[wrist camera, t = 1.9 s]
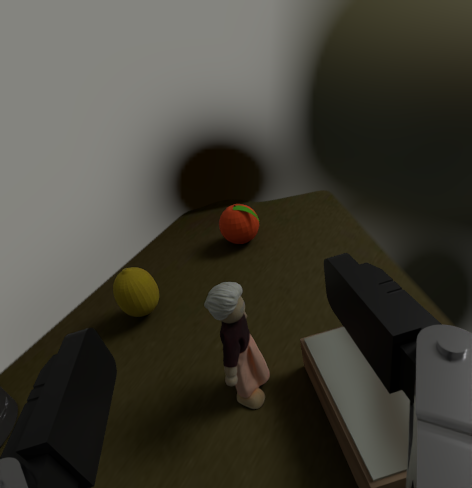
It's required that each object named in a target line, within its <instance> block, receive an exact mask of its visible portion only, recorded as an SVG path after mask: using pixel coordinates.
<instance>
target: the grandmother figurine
mask: <svg viewBox="0 0 472 488" xmlns="http://www.w3.org/2000/svg"><path fill="white" fill-rule="evenodd" d="M241 294H242V288H241V286H240V285H239V284H237V283H235V282H225V283H221V284H219V285H217V286H215V287H213V289H212V290H211V291H210V292H209V294H208V296H207V299H206V301H205V304H204V305H205V308H207V309H208V310H209V312H210V313H211V314H212V316H213V317H214V318H215V319H218V320H220V321H222V326H221V331H220V337H221V341H222V343H223V354H224V359H223V361H224V367H225V374H226V377H225V382H226V384H227V385H228V386H231V387H232V386H236V389H237V392H238V393H237V401H238V402H239V403H240V404H242V405H244V406H247V407H249V408H251V409H258V408H260V407H261V406H262V405H263V403H264V400H265V395H264V392H263V391H262V390H261V389H259V386H260V385H263V384H264V383H266V382H267V381H268V379H269V376H270V373H269V369H268V367H267V364H266V362H265V360H264V358H263V356H262V354H261V352H260V351H259V349H258V347H257V345H256V343H255V341H254V340H253V338H252V336H251V335H250V332H249V329H248V326H247V321H246V317H247V315H246V313H245V312H244V311H245V304H244V301H243V299H242V297H241Z"/></svg>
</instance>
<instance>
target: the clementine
mask: <svg viewBox="0 0 472 488" xmlns="http://www.w3.org/2000/svg"><path fill="white" fill-rule="evenodd" d="M259 222H260V221H259V219H258V217H257V214H256V213H255V212H254V210H253V209H251V208H250V207H249V206H246V205H243V204H235V205H232V206H230V207H228V208H227V209H226V210H225V211H224V212H223V213H222V215H221V217H220V222H219V226H220V231H221V233H222V235H223V236H224V238H225V239H226V240H228V241H230V242H231V243H234V244H244V243H247V242H249V241H250V240H252V239H253V238H254V237H255V235H256V234H257V232H258V228H259Z"/></svg>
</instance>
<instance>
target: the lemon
mask: <svg viewBox="0 0 472 488" xmlns="http://www.w3.org/2000/svg"><path fill="white" fill-rule="evenodd" d="M113 292H114V297H115V300H116V302H117V304H118V305H119V307H120V308H121V309H122V311H124V312H125V313H126V314H128V315H130V316H134V317H141V316H145V315H148V314H149V313H150V312H152V311H153V310H154V309H155V307H156V305H157V303H158V300H159V290H158V287H157V284H156V282H155V281H154V279H153V278H152V276H151V275H150V274H149V273H148V272H146V271H145V270H143V269H140V268H125V269H123V271H122V272H120V273H119V274H118V276H117V277H116V279H115V281H114V284H113Z"/></svg>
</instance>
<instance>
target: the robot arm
mask: <svg viewBox="0 0 472 488" xmlns="http://www.w3.org/2000/svg"><path fill="white" fill-rule="evenodd" d="M324 272H325V282H326V293H327V298H328V301H329V304H330V306H331V308H332V310H333V312H334V313H335V315H336V316H337V317H338V319H339V320H340V322H341V323H342V325H343V326H344V328H345V329H346V331H347V332H348V334H349V335H350V337H351V338H352V340H353V341H354V342H355V344H356V345H357V347H358V348H359V350H360V351H361V353H362V354H363V356H364V357H365V359H366V360H367V362H368V363H369V364H370V366H371V367H372V369H373V370H374V372H375V373H376V375H377V376H378V378H379V379H380V381H381V382H382V384H383V385H384V387H385V388H386V389H387V391H388V392H389V394H391V393H394V392H398V391H401V390H403V392H404V393H405V395H406V396H407V397H408V399H409V418H408V447H407V474H406V488H472V333H470V332H468V331H466V330H464V329H461V328H458V327H455V326H450V325H442V324H441V323H439V322H438V321H437V320H436V319H435V318H434V317H433V316H432V315H431V314H430V313H429V312H427V311H426V310H425V309H424V308H423V307H422V306H421V305H420V304H419V303H418V302H417V301H416V300H414V299H413V298H412V297H411V296H410V295H409V294H408V293H407V292H406V291H405V290H402V288H401V287H400V286H399V285H398V284H397V283H396V282H395V281H394V282H393V279H392V278H391V277H389V276H388V275H387V274H386V273H385V272H384V271H383V270H382V269H380V268H377V267H375V266H373V265H371V264H369V263H364V264H360V265H359V264H358V263H357V262H356V261H355V260H354V259H353V258H352V257H351V256H350V255H349V254H348V253H344V254H341V255H337V256H334V257H331V258H327V259H325V260H324ZM116 373H117V370H116V363H115V360H114V358H113V356H112V354H111V353H110V351H109V350H108V348H107V347H106V345H105V344H104V342H103V341H102V339H101V338H100V336H99V335H98V333H97V332H96V330H95V329H93V328H88V329H85V330H81V331H78V332H75V333H71V334H68V335H66V337H65V338H64V340H63V342H62V345H61V347H60V349H59V352H58V354H56V355H53V356H52V358H51V359H50V360H49V361H48V362H47V364H46V365H45V366H44V367H43V369H42V370H41V371H40V373H39V375H38V378H37V380H36V382H35V384H34V386H33V387H34V389H33V390H32V391H31V393H30V395H29V397H28V399H27V403H26V404H25V406H24V408H23V410H22V412H21V414H20V416H19V419H18V421H17V423H16V425H15V427H14V424H15V421H16V419H17V414H18V407H17V403H16V402H15V400H14V399H13V398H12V397H11V396H10V395H9V394H7V393H6V392H5V391H4V390H3V389H2V388H1V387H0V447H1V446H2V444H3V443H4V441H5V440H6V439H7V437H8V436H9V434H10V432H11V430H12V428H13V427H14V429H13V431H12V434H11V436H10V438H9V440H8V442H7V444H6V447H5V449H4V451H3V453H2V455H1V457H0V488H91V487H94V484H95V479H96V474H97V469H98V464H99V459H100V455H101V450H102V445H103V440H104V435H105V430H106V425H107V420H108V415H109V410H110V405H111V400H112V395H113V390H114V385H115V380H116Z"/></svg>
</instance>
